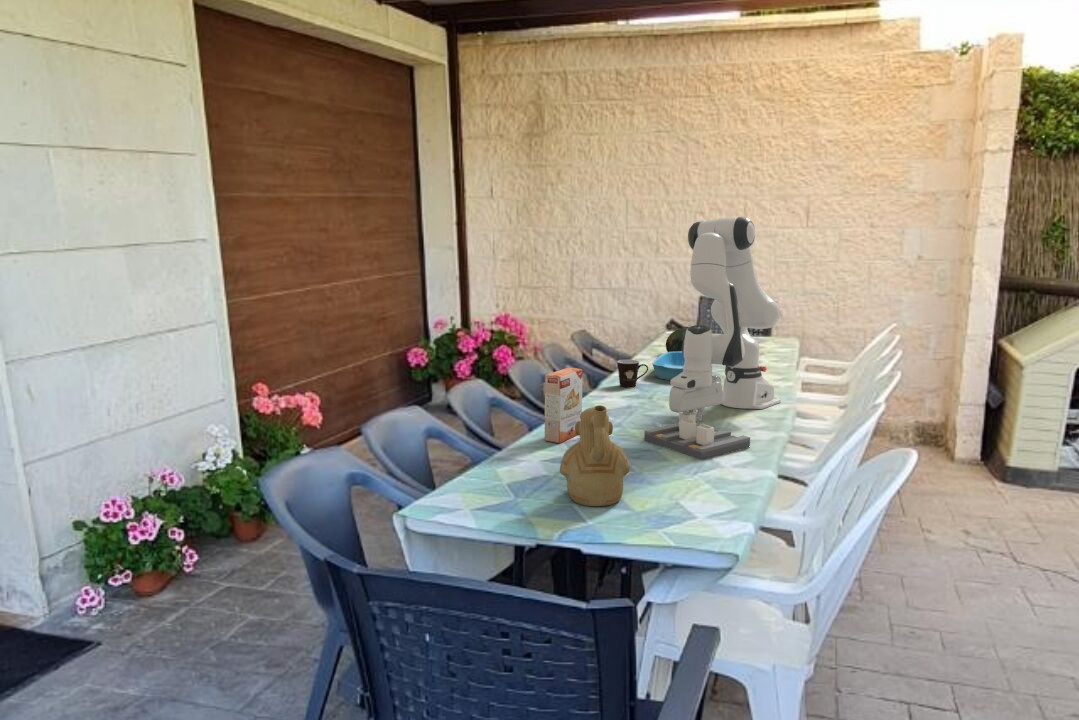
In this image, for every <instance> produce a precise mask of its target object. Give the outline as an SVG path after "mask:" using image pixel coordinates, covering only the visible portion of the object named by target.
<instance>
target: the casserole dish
mask: <svg viewBox="0 0 1079 720" xmlns="http://www.w3.org/2000/svg"><path fill="white" fill-rule="evenodd" d="M684 363H685V359H684V357H683V355H682V351H680V352H664V353H662V354H661V355H659V356H657V358H655V359H654V360H652V363H651V364H652V368H653V371H654V373H655V376H656V377H657V378H658V379H659V378H660V380H663V379H666V380H665V381H671V379H673V378H674V377H676V376H678V375H679V374H680V373H682V372H683V367H684Z"/></svg>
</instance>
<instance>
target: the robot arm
mask: <svg viewBox="0 0 1079 720" xmlns="http://www.w3.org/2000/svg"><path fill="white" fill-rule="evenodd" d="M755 237H756V229H755V225H754V222H753V221H752V220H751V219H750V218H747V217H743V216H738V217H720V218H715V219H708V220H700V221H697V222H694V223H693V224H691V226H690V227H689V229H688V233H687V242H688V245H689V247H690V249H692V256H691V261H690V271H689V272H690V273H689V274H690V275H689V276H690V283H691V285H692V287H693V288H694V289H695V291H697V292H698V293H699V294H701V295H703V296H705V297H707V298H711V299H713V302H712V304H711V306H710V314H711V317H712V319H713V321H714V322H715V323H717V325H718V326H719V327H720V329H721V332H722V333H712V332H713V331H712V329H711V327H709V326H707V325H703V324H694V325H691V326H688V327H689V328H687V330H686V335H685V340H684V341H683V348H682V355H683V357H684V359H685V363H684V367H683V372H682V373H680V374H679V375H678V376H676V377H674V378H673V379H671V380H669V381H670V386H671V388H670V390H669V395H668V396H669V397H668V407H669V409H670V411H671V412H674V413H678V414H679V413H682V412H684V411H688V412H691V413H693V414H695V422H697V423H700V422H702V419H703V418H702V416H703V415H704V413H705V411H706V410H705V408H708V407H714V406H717V405H723V406H724V407H728V408H732V409H733V408H735V409H754V410H763V409H766V408H769V407H771V406H775V405H776V404H780V403H781V402H782V400H781V398H779V397H776V396H775V388H774V385H773V384H772V383H770V382H769V381H768V380H767V379H766V378H765V377H764V376H763V373H765V372H767V366H765V365H764V366H763V365H760V364H759V363H760V362H759V360H760V345H759V343H758V341H757V340H756V339H755V338H753V337H752V335H750V333H749V330H748V329H756V330H765V329H771V328H774V326H776V325H777V324H778V321H779V319H780V317H781V311H780V306H779V305H778V303H777V301H775V300H774V299H772V298H771V297H770V296H769V295H767V293H766V292H765V291H764V289H763V288H762V287H761V285H760V283H759V281H758V278H757V273H756V272H755V271H756V270H755V266H754V265H755V264H754V261H753V260H754V258H753V255H752V250H751V246H752V245H753V244H754V242H755V239H756V238H755ZM712 365H719V366H720V365H721V366H725V368H724V374H725V378H724V381H723V385H722V378H721V377H720V376H718V375H716V374H715V375H713V366H712ZM762 372H763V373H762Z"/></svg>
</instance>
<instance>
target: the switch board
mask: <svg viewBox="0 0 1079 720" xmlns="http://www.w3.org/2000/svg"><path fill="white" fill-rule="evenodd" d="M696 423H697V426H700V425H699V424H698V422H696ZM697 426H696V434H697ZM710 426H711V427H713V428H714V443H710V444H706V445H701V444H698V443H696V437H695V438H690V439H686V440H685V439H682V438H679V422H678V423H674V424H669V425H662V426H659V427H654V428H650V429H646V430H644V432H643V433H644V435H643V437H644V439H643V440H644V441H646V442H649V443H651V444H655V445H657V444H658V445H657V446H660V445H661V447H663V446H665V447H664V448H666V447H667V448H666V449H669V448H670V449H669V450H672V449H673V451H676V452H678V453H681V454H684V455H687V456H689V457H692V456H693V457H692V458H695V457H696V459H698V458H699V460H702V461H703V460H706V459H708V458H712V457H713V456H714V457H718V456H720V455H721V454H722V455H725V454H724V453H726V454H729V453H733V452H736V450H737V451H740V450H739V449H741V450H744V449H743V448H745V449H747V448H746V447H749V446H750V447H751V437H750V436H747V435H740V436H736V435H732V431H730V430H726V429H725V430H721V431H719V430H716V429H715V427H714V426H713V425H710ZM750 447H749V448H750ZM732 451H733V452H732ZM728 452H729V453H728ZM717 455H718V456H717ZM714 457H713V458H714Z"/></svg>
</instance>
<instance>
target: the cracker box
mask: <svg viewBox="0 0 1079 720" xmlns="http://www.w3.org/2000/svg"><path fill="white" fill-rule="evenodd" d="M583 372H584V371H583V369H581V368H575V367H566V368H563V369H560V370H557V371H553V372H550V373H547V374H545V375H544V441H545V442H551V443H555V444H562V443H563V442H565V441H567V440H570V439H572V438H574V437H576V436H577V435H576V433H575V424H576V423H577V422H578V421H581V419H580V415H581V413H582V412H583V374H584V373H583Z"/></svg>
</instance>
